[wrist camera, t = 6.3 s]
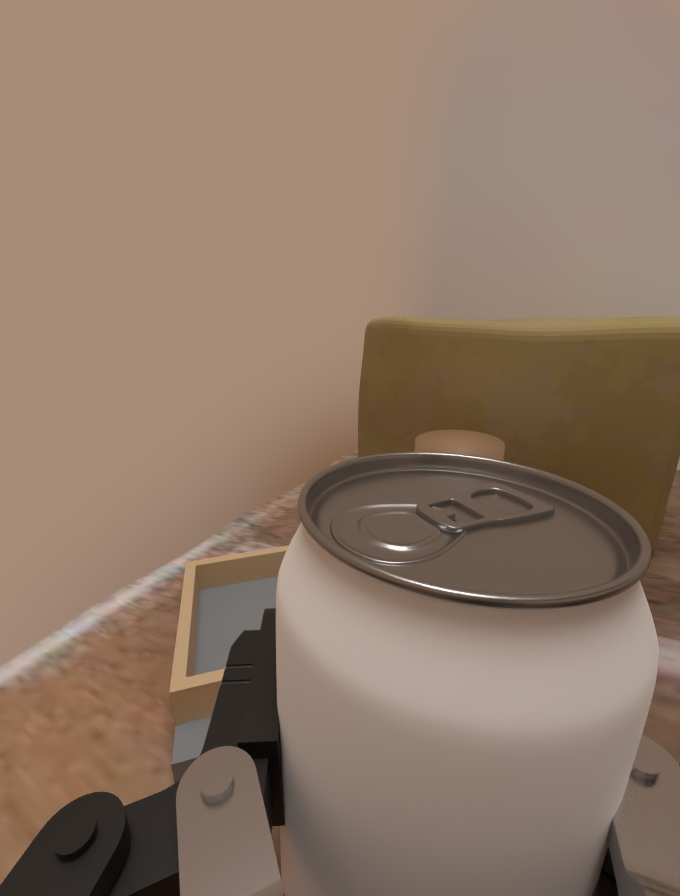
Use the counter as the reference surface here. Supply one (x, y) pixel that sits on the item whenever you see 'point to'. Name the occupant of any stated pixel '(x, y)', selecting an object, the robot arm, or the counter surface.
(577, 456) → the cheese
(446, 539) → the can
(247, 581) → the socket board
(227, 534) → the counter surface
